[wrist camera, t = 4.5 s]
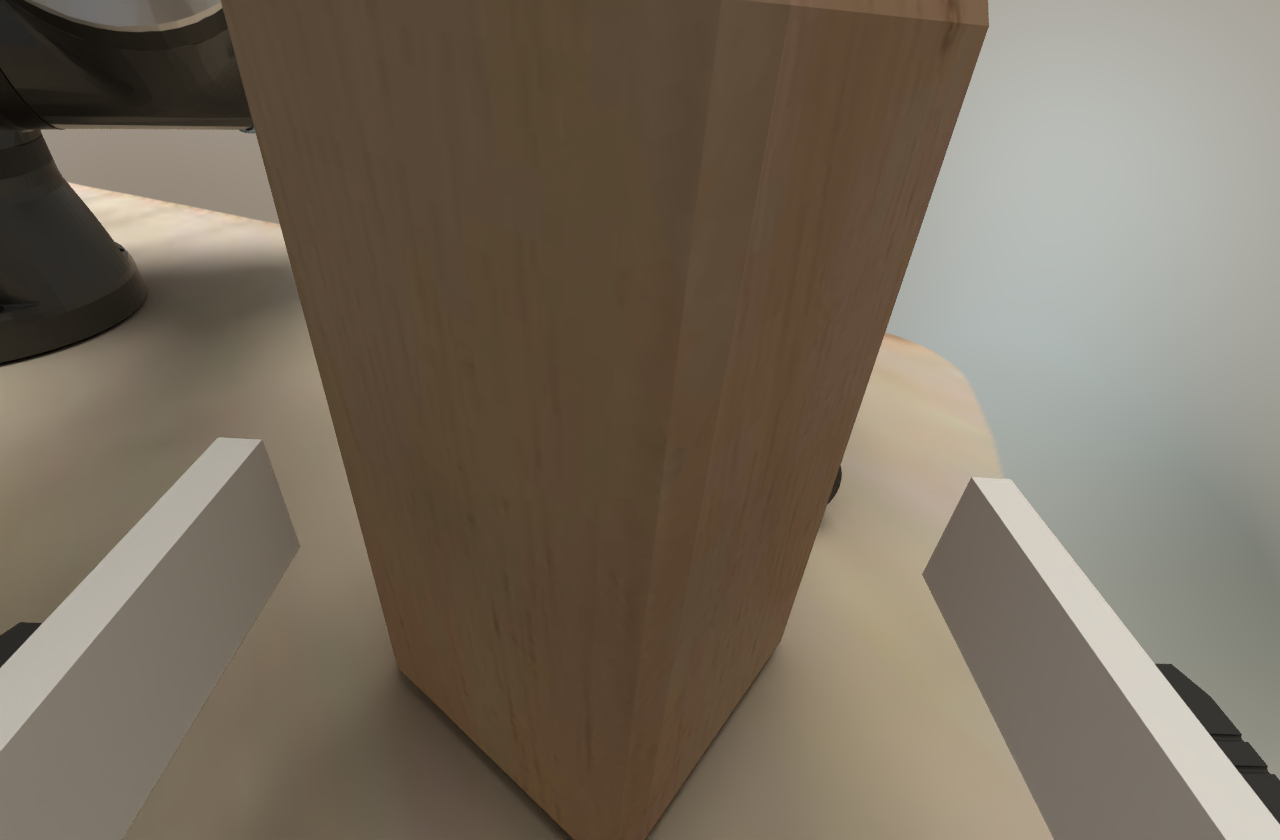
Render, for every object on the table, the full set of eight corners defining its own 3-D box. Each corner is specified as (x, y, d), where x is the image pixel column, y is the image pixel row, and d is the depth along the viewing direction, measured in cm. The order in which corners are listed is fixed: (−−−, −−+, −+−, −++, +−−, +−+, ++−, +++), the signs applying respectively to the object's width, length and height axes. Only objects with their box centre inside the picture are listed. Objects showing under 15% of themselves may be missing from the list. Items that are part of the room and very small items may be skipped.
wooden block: (787, 639, 22) (1023, -39, 11) (614, 895, 16) (758, -179, 4) (585, 512, 27) (601, -56, 16) (384, 667, 20) (155, -134, 9)
